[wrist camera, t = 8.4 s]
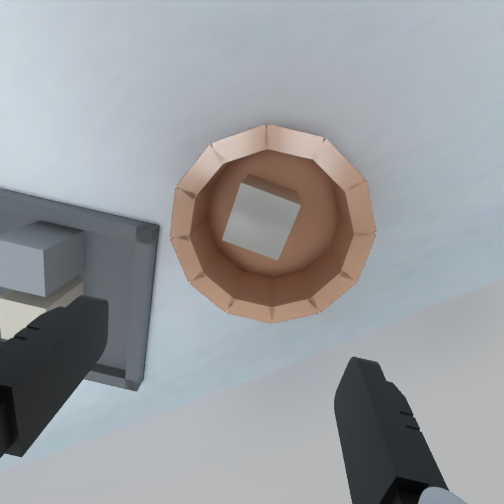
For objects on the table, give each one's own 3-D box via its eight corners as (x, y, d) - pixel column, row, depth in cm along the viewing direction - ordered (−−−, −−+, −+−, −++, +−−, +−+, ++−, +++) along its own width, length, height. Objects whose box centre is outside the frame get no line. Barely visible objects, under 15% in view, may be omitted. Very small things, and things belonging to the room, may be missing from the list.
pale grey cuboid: (248, 173, 21) (241, 182, 17) (296, 191, 21) (301, 205, 17) (232, 220, 22) (221, 239, 18) (278, 237, 22) (277, 260, 18)
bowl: (207, 112, 20) (185, 104, 16) (376, 151, 20) (406, 156, 16) (185, 266, 25) (162, 298, 20) (324, 299, 25) (335, 338, 20)
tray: (-29, 182, 24) (-47, 184, 22) (159, 225, 24) (152, 230, 22) (-8, 345, 30) (-21, 354, 28) (143, 380, 30) (136, 391, 28)
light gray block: (40, 220, 24) (-11, 238, 20) (84, 230, 24) (43, 250, 20) (42, 260, 25) (-5, 285, 21) (83, 270, 25) (45, 297, 21)
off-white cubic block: (42, 271, 26) (-4, 297, 21) (83, 280, 26) (45, 309, 21) (44, 306, 27) (1, 338, 23) (83, 315, 27) (47, 348, 23)
